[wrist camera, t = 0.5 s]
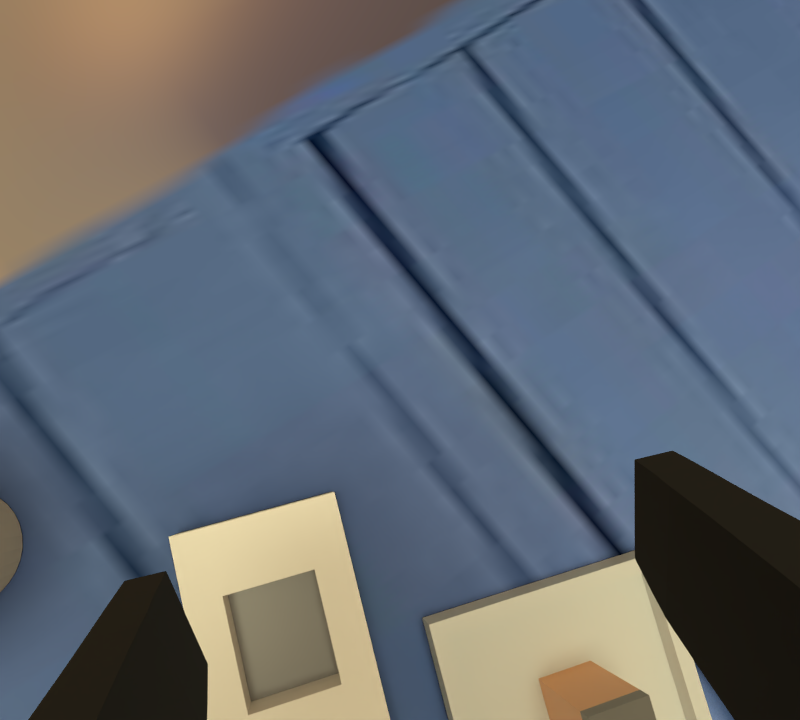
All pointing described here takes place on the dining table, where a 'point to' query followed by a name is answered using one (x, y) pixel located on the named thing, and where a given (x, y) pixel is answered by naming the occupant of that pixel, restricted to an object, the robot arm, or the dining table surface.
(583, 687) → the plug
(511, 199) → the dining table surface
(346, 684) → the power strip
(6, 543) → the coffee cup
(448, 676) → the tray
